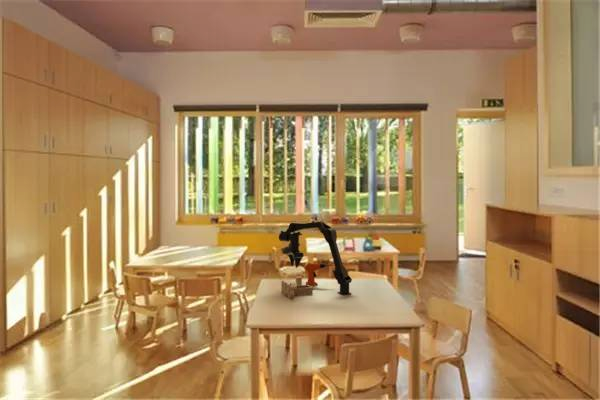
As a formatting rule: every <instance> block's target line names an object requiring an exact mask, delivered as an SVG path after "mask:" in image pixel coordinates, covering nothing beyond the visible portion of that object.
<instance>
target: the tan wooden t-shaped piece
mask: <svg viewBox="0 0 600 400" xmlns="http://www.w3.org/2000/svg"><path fill="white" fill-rule="evenodd" d="M313 289H314V288H313V286H309V285H306V284H302V285H297V289H292V286H291V285H290V283H288V282H286V281H284V280H281V293H282V294H283V295H284V296H286V297H288V298H289V299H291V300H292V299H295V296H303V295H313V291H314V290H313Z"/></svg>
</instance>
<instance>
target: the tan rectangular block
mask: <svg viewBox="0 0 600 400" xmlns="http://www.w3.org/2000/svg"><path fill="white" fill-rule="evenodd" d="M289 285H291V286H292V289H297V284H296V281H295V282H289Z"/></svg>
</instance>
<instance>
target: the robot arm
mask: <svg viewBox="0 0 600 400" xmlns="http://www.w3.org/2000/svg"><path fill="white" fill-rule="evenodd" d="M305 229H306V230H309V229H318V230H319V231H320V233H321V234H322V235H323V238H324V239H325V241H326V243H327V244H328V247H329V250H330V253H331V258H332V262H333V264H334V270H332V273H333V277H334V278H335V280H336V281H337V284H338V285H339V291H337V293H338V294H340V295H342V296H343V295H344V296H345V295H352V292H350V283H352V281H353V279H352V277H351V276H350V275H349V273H348V270H347V269H346V267H345V266H344V264H343V261H342V258H341V254H340V251H339V247H338V243H337V238H338V236H337V231H336V229H334V228H332V227H331V226H330V225H328V224H327V223H325V222H324V221H322V220H320V221H319V220H318V221H313V222H290V223H289V225H288V227H287V229H286V230H280V233H279V234H278V240H279V241H280V242H286V243H287V242H289V243H288V245H287V246H285V247H283V248H282V247H281V249H280V250H281V253H282V255H286V256H287V257H288V258H289V261H290V262H289V263H290V266H291V267H292V266H294V265H295V268H297V269H298V267H299V266H300V263H301V261H302V259H303V258H304V252H303V251H301V250H300V245H301V244H300V236H302V235H303V234H302V233H301V231H302V230H303V231H304V230H305Z"/></svg>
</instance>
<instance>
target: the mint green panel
mask: <svg viewBox="0 0 600 400" xmlns="http://www.w3.org/2000/svg"><path fill="white" fill-rule="evenodd" d="M302 280H303V276H295V283H296V284H297V285H303V281H302Z"/></svg>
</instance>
